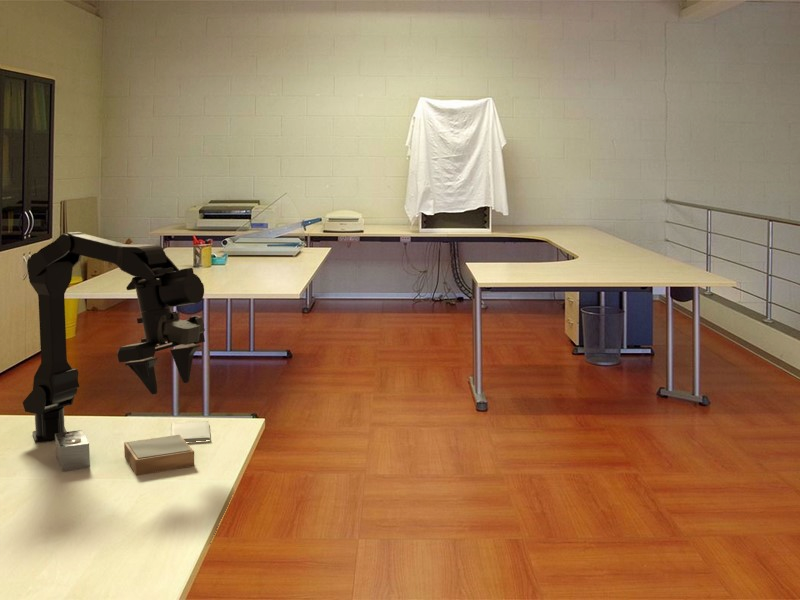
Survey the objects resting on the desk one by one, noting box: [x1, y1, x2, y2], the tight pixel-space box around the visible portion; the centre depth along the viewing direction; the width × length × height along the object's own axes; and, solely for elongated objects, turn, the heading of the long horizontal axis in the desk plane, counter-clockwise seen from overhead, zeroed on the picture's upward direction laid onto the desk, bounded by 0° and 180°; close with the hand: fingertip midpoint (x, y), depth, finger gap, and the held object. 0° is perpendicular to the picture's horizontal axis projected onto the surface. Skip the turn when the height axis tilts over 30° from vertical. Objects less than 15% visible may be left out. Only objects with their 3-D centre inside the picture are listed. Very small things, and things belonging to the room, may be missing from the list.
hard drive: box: [170, 419, 211, 442], centre depth 175 cm, size 2×8×12 cm
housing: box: [54, 429, 91, 473], centre depth 157 cm, size 9×5×5 cm, turn 30°
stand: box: [123, 435, 195, 476], centre depth 158 cm, size 11×11×3 cm
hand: (170, 388), depth 156 cm, fingers open, 9 cm apart
